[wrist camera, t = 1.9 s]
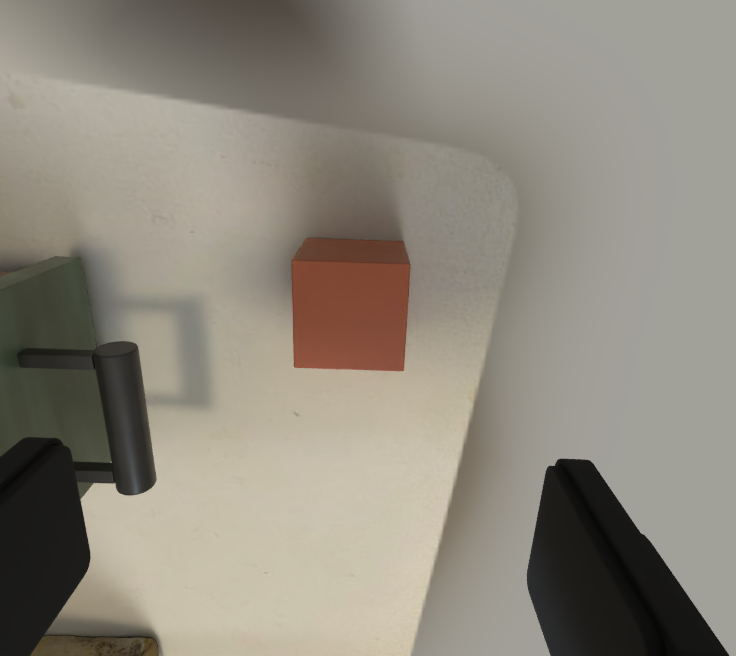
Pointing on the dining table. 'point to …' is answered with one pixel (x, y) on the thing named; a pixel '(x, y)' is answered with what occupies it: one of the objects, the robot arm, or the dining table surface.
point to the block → (350, 304)
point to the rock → (95, 646)
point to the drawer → (71, 379)
